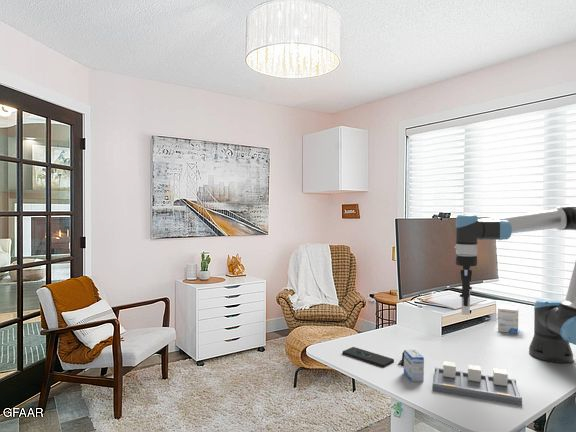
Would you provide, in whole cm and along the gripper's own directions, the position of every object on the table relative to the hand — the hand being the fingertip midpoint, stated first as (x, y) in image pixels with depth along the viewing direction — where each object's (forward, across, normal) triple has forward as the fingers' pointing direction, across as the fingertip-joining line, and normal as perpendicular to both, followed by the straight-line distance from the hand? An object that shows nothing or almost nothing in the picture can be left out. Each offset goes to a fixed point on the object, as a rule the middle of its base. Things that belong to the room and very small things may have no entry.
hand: (466, 310), depth 152 cm
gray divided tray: (+22, +19, +3) cm, 29 cm away
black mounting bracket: (+22, +6, -21) cm, 31 cm away
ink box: (+22, -58, +18) cm, 65 cm away
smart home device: (+22, +8, -36) cm, 43 cm away
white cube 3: (+20, +15, -5) cm, 26 cm away
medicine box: (+22, +18, -17) cm, 33 cm away
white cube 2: (+20, +15, +3) cm, 25 cm away
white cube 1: (+20, +14, +11) cm, 27 cm away
